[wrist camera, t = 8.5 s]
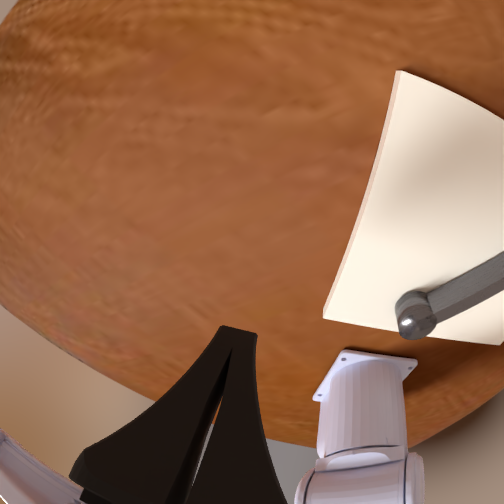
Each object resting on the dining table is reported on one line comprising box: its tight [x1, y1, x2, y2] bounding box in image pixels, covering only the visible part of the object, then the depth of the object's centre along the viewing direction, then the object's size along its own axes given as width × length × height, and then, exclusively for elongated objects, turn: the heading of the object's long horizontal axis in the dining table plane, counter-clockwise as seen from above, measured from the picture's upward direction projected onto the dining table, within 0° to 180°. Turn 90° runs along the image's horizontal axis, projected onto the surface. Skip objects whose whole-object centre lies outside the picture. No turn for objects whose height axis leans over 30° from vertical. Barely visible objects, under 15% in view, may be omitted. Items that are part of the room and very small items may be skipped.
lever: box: [395, 253, 504, 340], centre depth 15 cm, size 14×3×2 cm, turn 128°
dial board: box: [323, 71, 504, 345], centre depth 15 cm, size 17×19×1 cm
